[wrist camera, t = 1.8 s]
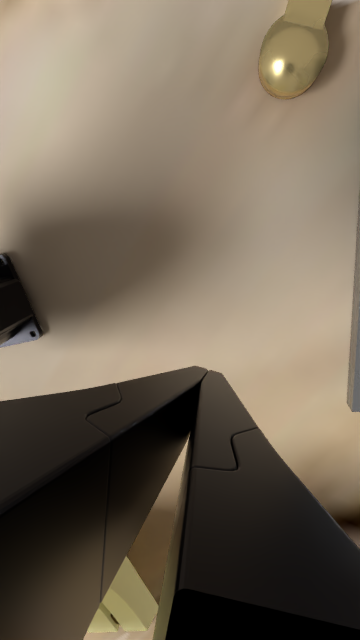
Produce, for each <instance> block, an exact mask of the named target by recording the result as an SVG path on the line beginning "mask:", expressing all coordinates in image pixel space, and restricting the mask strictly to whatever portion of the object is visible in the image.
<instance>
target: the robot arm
mask: <svg viewBox="0 0 360 640" xmlns="http://www.w3.org/2000/svg"><path fill="white" fill-rule="evenodd" d="M1 259H2V260H3V262H4V264H3V263H2V262H1ZM33 331H34V332H35V333H36V335H35V334H34V333H33ZM41 336H42V330H41V328H40V326H39V323H38V321H37V319H36V317H35V314H34V312H33V310H32V307H31V305H30V303H29V301H28V298H27V296H26V294H25V292H24V289H23V287H22V285H21V283H20V280H19V278H18V276H17V273H16V271H15V269H14V267H13V264H12V262H11V260H10V258H9V256H7V255H6V254H0V348H1V347H6V346H10V345H15V344H20V343H24V342H29V341H34V340H37V339H39V338H40V337H41ZM189 435H190V436H189ZM188 438H189V441H188V446H187V452H186V457H185V463H184V468H183V474H182V479H181V485H180V490H179V496H178V502H177V507H176V513H175V518H174V524H173V529H172V535H171V541H170V546H169V552H168V557H167V563H166V568H165V574H164V579H163V585H162V591H161V596H160V602H159V607H158V613H157V618H156V624H155V630H154V635H153V640H360V549H359V548H358V547H357V545H356V544H355V543H354V542H353V541H352V540H351V538H350V537H349V536H348V535H347V534H346V533H345V532H344V530H343V529H342V528H341V527H340V526H339V525H338V523H337V522H336V521H335V520H334V519H333V518H332V516H331V515H330V514H329V513H328V512H327V511H326V510H325V508H324V507H323V506H322V505H321V504H320V503H319V501H318V500H317V499H316V498H315V497H314V496H313V495H312V493H311V492H310V491H309V490H308V489H307V488H306V486H305V485H304V484H303V483H302V482H301V481H300V480H299V478H298V477H297V476H296V475H295V474H294V473H293V471H292V470H291V469H290V468H289V467H288V465H287V464H286V463H285V462H284V461H283V459H282V458H281V457H280V456H279V455H278V453H277V452H276V451H275V449H274V448H273V447H272V445H271V444H270V443H269V441H268V440H267V438H266V437H265V436H264V434H263V433H262V431H261V430H260V429H259V428H258V426H257V425H256V423H255V422H254V420H253V419H252V417H251V416H250V414H249V413H248V411H247V410H246V408H245V407H244V405H243V404H242V402H241V401H240V399H239V398H238V396H237V395H236V393H235V392H234V390H233V389H232V387H231V386H230V384H229V383H228V381H227V380H226V378H225V377H224V375H223V374H222V373H219V372H216V371H212V370H209V371H208V370H207V369H205V368H202V367H198V366H192V367H188V368H183V369H179V370H174V371H170V372H165V373H160V374H156V375H151V376H147V377H142V378H138V379H133V380H129V381H124V382H120V383H117V384H116V383H113V384H108V385H104V386H98V387H93V388H88V389H82V390H76V391H70V392H63V393H56V394H49V395H42V396H35V397H28V398H21V399H14V400H7V401H0V640H83V638H84V636H85V634H86V632H87V630H88V628H89V626H90V624H91V622H92V620H93V617H94V615H95V614H96V612H97V610H98V608H99V605H100V603H101V602H102V600H103V598H104V597H105V595H106V593H107V591H108V589H109V587H110V585H111V583H112V581H113V580H114V578H115V576H116V574H117V572H118V570H119V568H120V566H121V564H122V563H123V561H124V559H125V557H126V555H127V553H128V551H129V549H130V548H131V546H132V544H133V542H134V540H135V538H136V536H137V534H138V532H139V531H140V529H141V527H142V525H143V523H144V521H145V519H146V517H147V515H148V514H149V512H150V510H151V508H152V506H153V504H154V502H155V500H156V499H157V497H158V495H159V493H160V491H161V489H162V487H163V485H164V483H165V482H166V480H167V478H168V476H169V474H170V472H171V470H172V468H173V467H174V465H175V463H176V461H177V459H178V457H179V455H180V453H181V451H182V450H183V448H184V446H185V444H186V442H187V440H188Z"/></svg>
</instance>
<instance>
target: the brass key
mask: <svg viewBox="0 0 360 640" xmlns="http://www.w3.org/2000/svg"><path fill="white" fill-rule="evenodd" d="M331 2H332V0H289V1H288V5H287V8H286V11H285V15H284V16H282V17H281V18H279V19H278V20H277V21H276V22H275V23H274V24H273V25H272V26H271V28H270V29H269V31H268V32H267V34H266V36H265V38H264V41H263V44H262V47H261V52H260V58H259V66H258V71H259V78H260V81H261V84H262V86H263V88H264V89H265V90H266V91H267V92H268V93H269V94H270V95H271V96H273V97H275V98H278V99H291V98H294V97H297V96H299V95H300V94H302V93H303V92H305V91H306V90H307V89H308V88H309V87H310V86H311V85H312V83H313V82H314V80H315V79H316V77H317V76H318V74H319V73H320V71H321V69H322V68H323V66H324V63H325V61H326V58H327V54H328V47H329V39H328V33H327V30H326V27H325V25H324V23H325V20H326V17H327V14H328V11H329V8H330V5H331Z"/></svg>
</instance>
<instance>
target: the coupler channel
mask: <svg viewBox="0 0 360 640" xmlns="http://www.w3.org/2000/svg"><path fill="white" fill-rule="evenodd" d="M347 404H348V406H349V407H350V409H351V411H352V412H360V194H359V210H358V227H357V243H356V260H355V277H354V293H353V310H352V326H351V343H350V359H349V376H348V392H347Z"/></svg>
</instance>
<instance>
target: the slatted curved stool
mask: <svg viewBox="0 0 360 640" xmlns="http://www.w3.org/2000/svg"><path fill="white" fill-rule="evenodd" d="M158 607H159V606H158V604H157V603H156V601H155V600H154V598H153V596H152V595H151V593H150V592H149V590H148V589H147V587H146V586H145V584H144V582H143V581H142V579H141V578H140V576H139V575H138V573H137V572H136V570H135V568H134V567H133V565H132V564H131V562H130V561H129V559H128V558H127V556H126V557H125V559H124V561H123V563H122V564H121V566H120V568H119V570H118V572H117V574H116V576H115V578H114V580H113V581H112V583H111V585H110V587H109V589H108V591H107V593H106V595H105V597H104V598H103V600H102V602H101V603H100V605H99V608H98V610H97V612H96V614H95V615H94V617H93V620H92V622H91V624H90V626H89V628H88V630H87V631H88V632H89V633H93V632H117V631H118V628H119V624H120V625H121V627H122V628H123V629H124V631H147V630H148V628H149V626H150V624H151V622H152V620H153V618H154V617H155V615H156V614H157V612H158Z"/></svg>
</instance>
